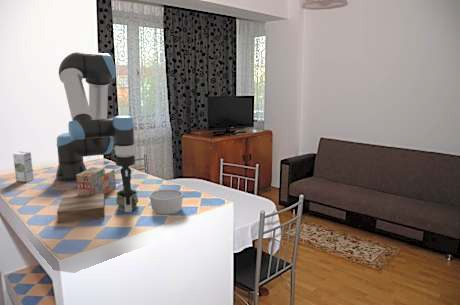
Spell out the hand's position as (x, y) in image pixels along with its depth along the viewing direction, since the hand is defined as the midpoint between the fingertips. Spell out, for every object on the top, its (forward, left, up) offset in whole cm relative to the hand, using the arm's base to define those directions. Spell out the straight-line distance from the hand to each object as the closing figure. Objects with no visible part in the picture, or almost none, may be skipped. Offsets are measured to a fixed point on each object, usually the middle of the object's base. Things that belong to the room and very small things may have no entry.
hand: (127, 206), depth 150 cm
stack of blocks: (-20, -12, -1) cm, 23 cm away
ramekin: (+8, +15, -1) cm, 17 cm away
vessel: (0, 0, -1) cm, 1 cm away
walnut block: (+2, -17, -1) cm, 17 cm away
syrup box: (-51, -47, 0) cm, 69 cm away
